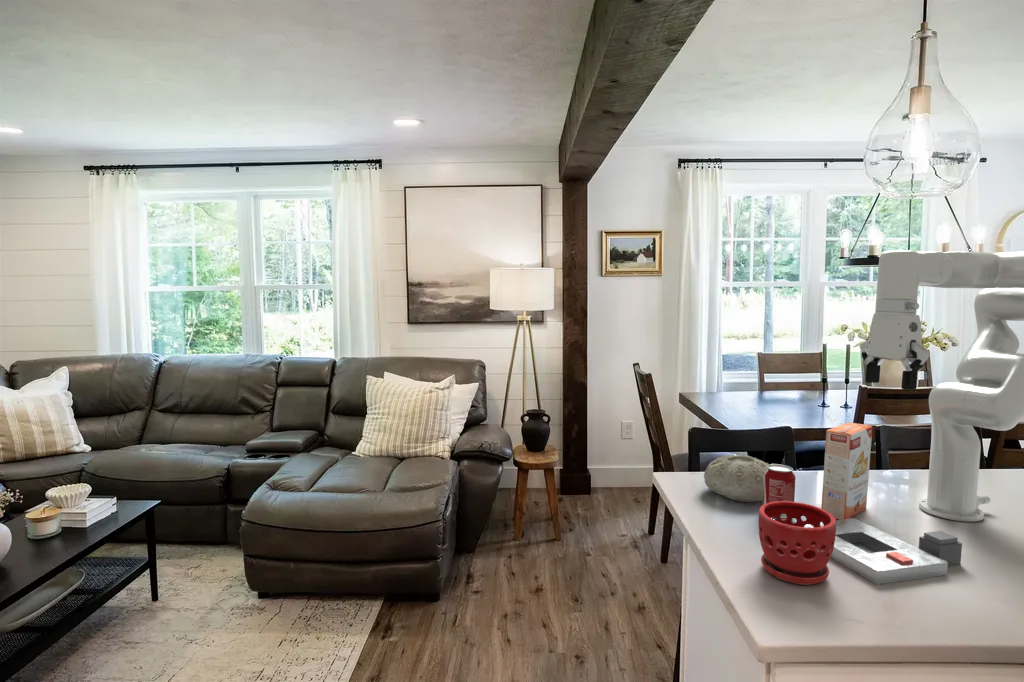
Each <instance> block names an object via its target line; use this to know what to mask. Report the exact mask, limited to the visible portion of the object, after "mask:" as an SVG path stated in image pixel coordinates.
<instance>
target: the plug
mask: <svg viewBox="0 0 1024 682" xmlns="http://www.w3.org/2000/svg"><path fill="white" fill-rule="evenodd" d="M918 538H919V539H918V548H919V549H921V550H923V551H925V552H927V553H929V554H932V555H934V556H936V557H938V558H940V559H942V560H944V561H946V562H948V567H954V566H961V562H962V548H963V543H962V542H960V541H959V538H958V537H957V536H955V535H953V534H950V533H948V532H946V531H943V530H936V531H928V532H924V533H923V536H919V537H918Z"/></svg>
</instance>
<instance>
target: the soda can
mask: <svg viewBox="0 0 1024 682" xmlns="http://www.w3.org/2000/svg"><path fill="white" fill-rule="evenodd" d="M793 470H794V469H793V467H791V466H789V465H785V464H778V463H771V464H768V466H767V470H766V471H765V472H764V484H763V500H762V505H764V504H766V503H769V502H776V501H791V502H795V499H796V498H795V494H796V475H795V473H794V472H793ZM770 518H772V519H776V518H775V517H774V516H772V517H770ZM780 518H781V519H782V520H785V519H786V518H787V515H786V514H781V516H780Z"/></svg>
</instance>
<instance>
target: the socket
mask: <svg viewBox="0 0 1024 682" xmlns="http://www.w3.org/2000/svg"><path fill="white" fill-rule="evenodd" d="M835 520H836V535H835V544H834V549H833V552H832V555H831V558H830V559H832V558H833V559H832V560H833V561H835V560H836V561H835V562H837V561H838V562H837V563H839V564H841V565H842V564H843V565H842V566H845V567H846V568H848V569H850V570H851V571H853V572H855V573H857V574H858V575H860V576H861V577H863V578H864V579H867V580H869V581H870V582H871V583H873V584H875V585H877V586H878V585H884V584H892V583H899V582H905V581H906V582H907V581H913V580H919V579H920V580H921V579H927V578H934V577H942V576H948V567H949V566H948V562H946V561H944V560H942V559H940V558H938V557H936V556H934V555H932V554H929V553H927V552H925V551H923V550H921V549H919V547H916V546H914V545H913V544H910V543H908V542H907V541H906V542H905V541H904V540H901V539H899V538H897V537H895V536H894V535H891V534H889V533H886V531H883V530H881V529H878V528H876V527H874V526H871V525H869V524H868V523H865V522H863V521H861V520H859V519H857V518H854V517H851V518H850V519H843V520H837V519H835ZM820 526H821V527H823V526H824V525H823V523H822V522H821V523H820ZM804 527H813V526H812V525H809V524H807V525H805V526H804Z"/></svg>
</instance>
